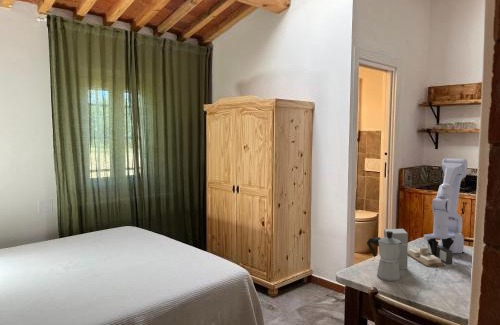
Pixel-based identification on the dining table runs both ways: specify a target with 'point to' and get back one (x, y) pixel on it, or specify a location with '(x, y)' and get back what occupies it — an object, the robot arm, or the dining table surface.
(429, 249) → the grey upright panel
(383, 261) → the coffee maker
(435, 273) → the dining table surface
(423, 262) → the display stand
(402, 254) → the skincare box
